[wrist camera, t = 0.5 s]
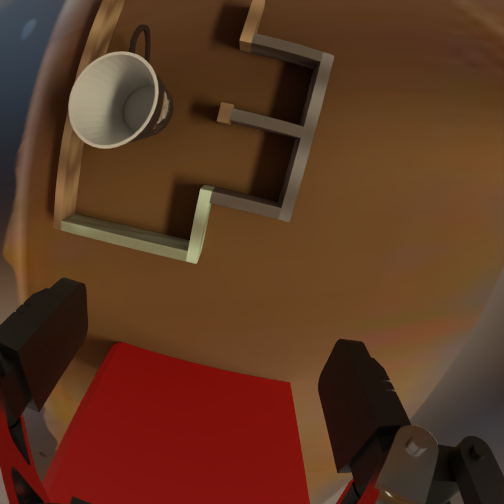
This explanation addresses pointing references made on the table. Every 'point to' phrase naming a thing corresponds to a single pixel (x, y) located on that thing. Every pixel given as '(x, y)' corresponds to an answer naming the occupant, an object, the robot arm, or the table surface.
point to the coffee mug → (119, 98)
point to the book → (179, 437)
